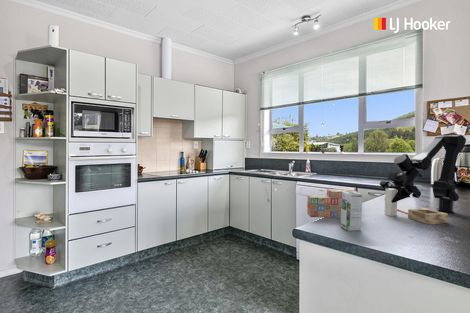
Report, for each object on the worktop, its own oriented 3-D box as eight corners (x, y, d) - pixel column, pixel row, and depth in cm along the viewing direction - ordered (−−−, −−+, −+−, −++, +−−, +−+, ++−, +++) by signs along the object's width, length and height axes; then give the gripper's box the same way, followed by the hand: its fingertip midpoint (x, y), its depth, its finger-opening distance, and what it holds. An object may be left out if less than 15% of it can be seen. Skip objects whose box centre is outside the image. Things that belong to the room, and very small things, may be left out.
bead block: (424, 216, 121) (425, 208, 121) (447, 222, 111) (447, 213, 111) (408, 218, 118) (408, 209, 118) (429, 224, 109) (429, 215, 108)
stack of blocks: (310, 217, 118) (311, 190, 117) (307, 214, 124) (307, 188, 123) (357, 218, 117) (358, 191, 116) (352, 215, 123) (352, 189, 123)
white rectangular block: (390, 213, 126) (391, 188, 125) (396, 215, 122) (397, 189, 122) (384, 214, 125) (385, 188, 124) (390, 216, 121) (391, 189, 121)
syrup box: (339, 226, 104) (340, 190, 104) (353, 226, 105) (354, 190, 104) (347, 231, 99) (348, 193, 98) (361, 230, 99) (363, 193, 99)
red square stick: (391, 208, 137) (391, 207, 137) (392, 208, 137) (393, 207, 137) (409, 215, 123) (409, 214, 123) (411, 215, 123) (411, 214, 123)
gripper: (382, 165, 133) (364, 186, 130) (417, 168, 115) (396, 193, 112) (394, 179, 135) (376, 201, 132) (430, 185, 117) (410, 210, 114)
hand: (388, 201), depth 123 cm, fingers closed on white rectangular block, 3 cm apart
